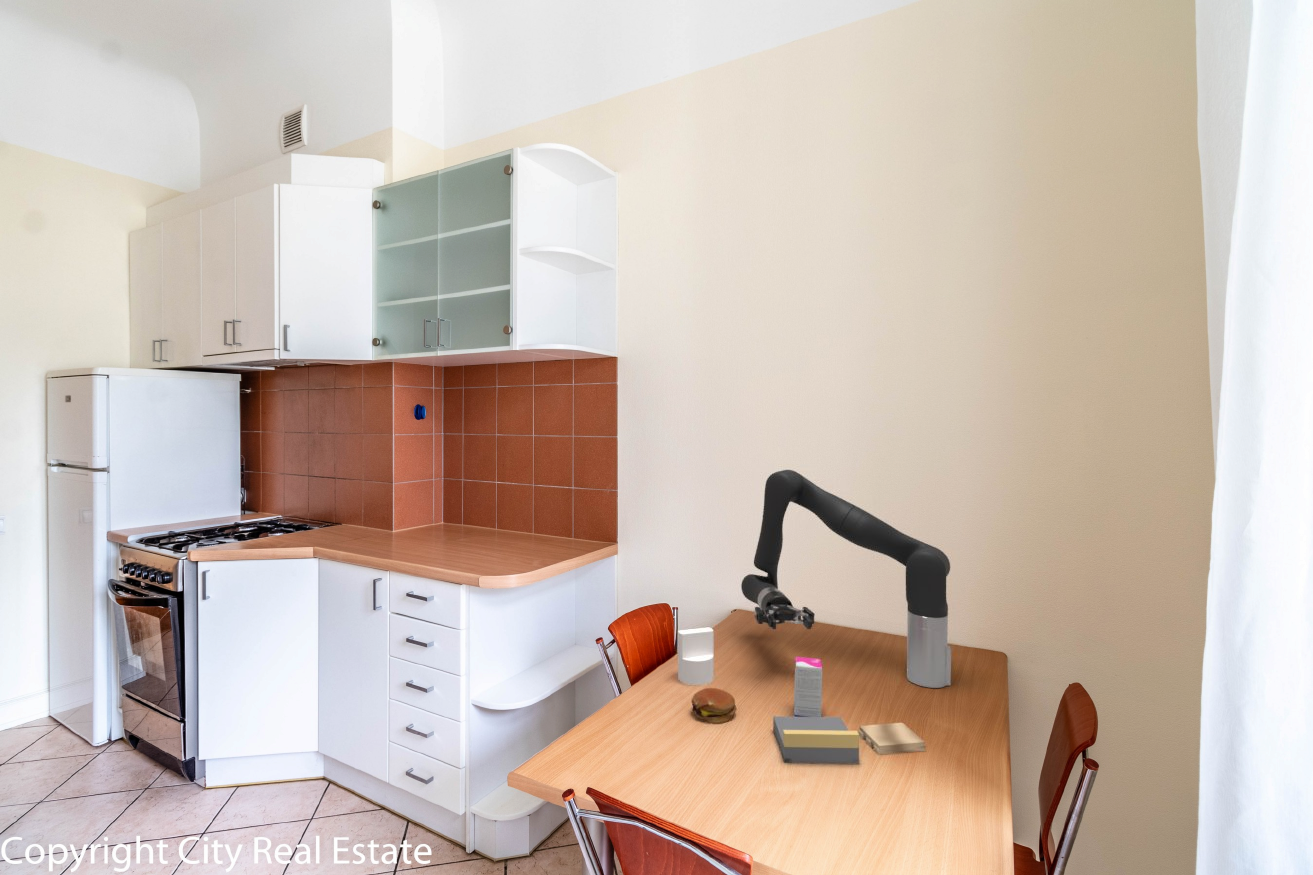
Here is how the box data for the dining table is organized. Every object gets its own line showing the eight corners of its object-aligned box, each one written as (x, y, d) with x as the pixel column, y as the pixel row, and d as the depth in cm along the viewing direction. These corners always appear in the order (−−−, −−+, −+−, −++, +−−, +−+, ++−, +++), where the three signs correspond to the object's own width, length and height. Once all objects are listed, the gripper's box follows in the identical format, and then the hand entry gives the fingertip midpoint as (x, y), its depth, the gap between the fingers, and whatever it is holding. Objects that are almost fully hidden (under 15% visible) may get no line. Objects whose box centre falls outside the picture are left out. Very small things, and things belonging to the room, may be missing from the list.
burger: (730, 703, 137) (730, 683, 137) (740, 723, 128) (740, 702, 128) (688, 705, 136) (688, 685, 136) (694, 725, 127) (694, 704, 127)
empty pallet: (903, 731, 125) (903, 722, 125) (925, 751, 117) (925, 741, 117) (858, 735, 123) (858, 725, 123) (878, 755, 116) (878, 745, 116)
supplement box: (822, 720, 129) (822, 667, 129) (794, 717, 130) (794, 665, 130) (820, 708, 135) (820, 657, 135) (793, 705, 136) (793, 655, 136)
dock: (840, 731, 124) (840, 705, 124) (858, 763, 112) (859, 734, 112) (773, 730, 125) (773, 704, 125) (784, 762, 113) (784, 733, 113)
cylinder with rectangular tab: (705, 668, 157) (705, 623, 156) (719, 682, 148) (719, 634, 148) (672, 673, 154) (673, 626, 154) (685, 687, 145) (685, 638, 145)
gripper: (748, 590, 159) (763, 609, 143) (800, 590, 160) (821, 609, 144) (747, 618, 159) (762, 640, 143) (800, 618, 160) (820, 640, 144)
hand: (792, 625), depth 144 cm, fingers open, 8 cm apart
